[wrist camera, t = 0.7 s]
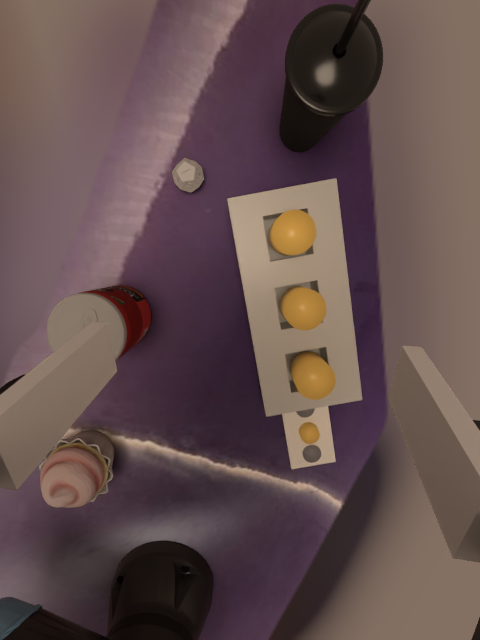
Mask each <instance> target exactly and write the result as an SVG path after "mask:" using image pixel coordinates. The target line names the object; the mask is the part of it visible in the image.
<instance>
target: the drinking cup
mask: <svg viewBox="0 0 480 640" xmlns="http://www.w3.org/2000/svg"><path fill="white" fill-rule="evenodd" d="M370 1H371V0H358V2H357V4H356V6H355V8H354V7H352V6H348V5H344V4H329V5H325V6H322V7H319V8H317V9H315V10H313V11H312V12H310V13H309V14H308V15H306V16H305V17H304V18H303V19H302V20H301V21H300V22H299V24H298V25H297V26H296V28H295V29H294V31H293V33H292V35H291V37H290V40H289V43H288V46H287V50H286V56H285V73H286V81H285V89H284V97H283V105H282V113H281V121H280V137H281V140H282V142H283V144H284V145H285V146H286V147H287V148H288V149H290V150H292V151H295V152H303V151H306V150H308V149H310V148H311V147H312V146H313V145H315V144H316V143H317V142H318V141H319V140H320V139H321V138H322V137H323V136H324V135H325V134H326V133H327V132H328V131H329V130H330V129H331V128H333V127H334V126H335V125H336V124H337V123H338V122H339V121H340V120H341V119H342V118H343V117H344V116H345V115H346V114H347V113H349V112H351V111H353V110H355V109H356V108H358V107H359V106H360V105H362V104H363V103H364V102H365V101H366V100H367V98H368V97H369V96H370V95H371V93H372V92H373V90H374V88H375V87H376V85H377V82H378V80H379V77H380V74H381V70H382V65H383V48H382V44H381V39H380V36H379V33H378V31H377V29H376V27H375V26H374V24H373V23H372V21H371V20H370V19H369V18H368V17H367V16H366V15H365V14H364V12H365V11H366V9H367V7H368V5H369V3H370Z"/></svg>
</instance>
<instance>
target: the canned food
mask: <svg viewBox="0 0 480 640" xmlns="http://www.w3.org/2000/svg"><path fill="white" fill-rule="evenodd" d="M92 322H102V323H108V327H109V332H110V337H111V342H112V347H113V352H114V357H115V361H116V360H118V359H119V358H120V357H121V356H122V355H124V354H125V353H126V352H127V351H128V350H129V349H131V348H132V347H133V346H134V345H135V344H136V343H138V342H139V341H140V340H141V339H142V338H143V337H144V336H145V335H146V333H147V331H148V329H149V327H150V323H151V311H150V307H149V305H148V303H147V301H146V299H145V298H144V297H143V295H142V294H140V293H139V292H138V291H137V290H135V289H133V288H131V287H128V286H122V285H120V286H112V287H106V288H101V289H96V290H91V291H86V292H82V293H78V294H74V295H71V296H69V297H67V298H65V299H63V300H62V301H61V302H59V303H58V304H57V305H56V306H55V308H54V309H53V310H52V312H51V314H50V316H49V319H48V323H47V337H48V342H49V345H50V347H51V349H52V351H53V353H54V352H55V351H56V350H58V349H59V348H60V347H61V346H63V345H64V344H65V343H66V342H68V341H69V340H70V339H71V338H73V337H74V336H75V335H76V334H78V333H79V332H80V331H81V330H83V329H84V328H85V327H87V326H88V325H89V324H90V323H92Z"/></svg>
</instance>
